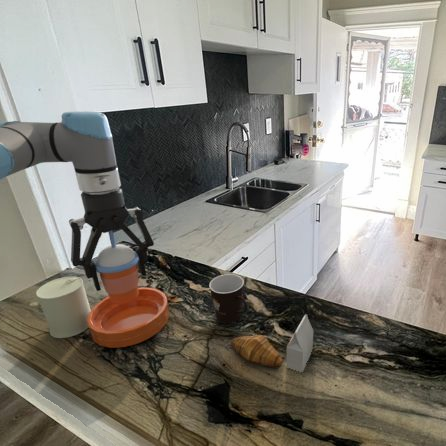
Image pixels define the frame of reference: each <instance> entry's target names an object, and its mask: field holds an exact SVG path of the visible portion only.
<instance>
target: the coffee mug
mask: <svg viewBox="0 0 446 446" xmlns="http://www.w3.org/2000/svg"><path fill="white" fill-rule="evenodd" d="M244 284H245V281H244V278H243V277H242V276H240V275H239V274H235V273H234V274H233V273H226V274H221V275H218V276H216V277H214V278H213V279H211V280H210V282H209V284H208V287H209V291H210V294H211V298H212V303H213V307H214V310H215V314H216V318H217V320H218V321H219V322H221V323H223V324H230V323H235V322H236V321H238V320H239V319H240V318H241V316H242V314H243V313H245V312H247V311H248V304H247V301H246V300H245V298H244V286H245V285H244ZM243 304H244V309H243Z"/></svg>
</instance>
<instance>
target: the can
mask: <svg viewBox="0 0 446 446" xmlns="http://www.w3.org/2000/svg"><path fill="white" fill-rule="evenodd" d="M35 296H36V297H37V300H38V302H39V305H40V307H41V310H42V312H43V315H44V319H45V320H46V323H47V324H46V325H47V326H48V330H49V334H50V337H52V338H55V339H66V338H67V339H68V338H71V337H75V336H77V335H79V334H81V333H84V332H85V331H86V330H89V327H88V323H87V318H88V314H89V312H90V311H91V310H92V309H91V305H90V303H89V299H88V296H87V292H86V289H85V284H84V280H83V279H82V278H81V277H78V276H64V277H63V276H62V277H60V278H59V277H58V278H55V279H53V280H51V281H48V282H46V283H44V284H43V285H41V286H40V287H39V288H38V289H37V290H36V292H35Z"/></svg>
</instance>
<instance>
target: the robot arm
mask: <svg viewBox="0 0 446 446" xmlns="http://www.w3.org/2000/svg"><path fill="white" fill-rule="evenodd" d="M113 138H114V137H113V134H112V131H111V127H110V124H109V120H108V117H107V116H106V115H105V113H103V112H99V111H65V112H63V113H62V114H61V121H59V122H38V121H37V122H36V121H30V122H29V121H19V120H13V121H0V180H3V179H5V178H6V177H8V176H12V175H14V174H16V173H18V172H21V171H24V170H26V169H29V168H31V167H34V166H37V165H39V164H43V163H72V165H73V169H74V173H75V177H76V181H77V186H78V189H79V191H80V192H81V193H80V197H81V201H82V205H83V206H82V207H83V209H84V214H83V217H81V218H78V219H74V218H70V219H69V220H68V223H69V226H70V229H71V245H70V246H71V247H70V248H71V249H70V252H71V253H70V262H71V264H72V266H73V267H75V268H77V267H83V269H84V270H83V271H84V274H85V277H86V278H87V280H88V279H92V282H93V285H94V288H95V290H96V292H100V291H101V290H102V289H101V283H100V281H99V276H98V271H97V270H96V268H95V265H94V261H93V258H94V255H95V252H96V249H97V246H98V244H99V241H100V239H101V237H102V235H103V234H107V233H108V232H109V231H112V230H113V231H119V230H120V229H121V231H122V232H124V233H125V234H126V235H127V237H128V238H129V239H131V241H132V242H133V243H134V244H135V245H136V246H137V248H135V252H136V253H137V254H138V256H139V261H138V263H137V264H138V265H137V266H138V272H139V273H140V274H141V276H142V277H146V276H147V271H146V265H145V263H146V262H148V261H149V256H148V250H149V249H148V248H150V247H153V246H154V245H155V242H154V240H153V238H152V236H151V234H150V232H149V230H148V228H147V225H146V223H145V221H144V219H143V211H142V209H141V208H139V207H138V206H134V207H133V208H127V207H126V204H125V197H124V193H123V189H122V188H121V186H122V182H121V178H120V173H119V168H118V164H117V158H116V152H115V147H114V140H113ZM128 216H130V217H131V218H132V219H134V221H135V223H136V225H137V228H138V229H139V231H140V233H141V235H142V237H143V240H144V241H141V240H140V239H139V237H137V235H136V234H135V233H134V232H133V231H132V230H131V229H130V228H129V227H128V226H127V225H126V223H125V222H126V220H127V218H128ZM85 224H87V225H89V226H90V227H91V229H90V235H89V237H88V240H87V242H86V245H85V248H84V250H83V251H84V252H83V254H82V257H81V245H82V243H81V242H82V230H83V229H84V226H85Z"/></svg>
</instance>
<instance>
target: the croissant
mask: <svg viewBox="0 0 446 446" xmlns="http://www.w3.org/2000/svg"><path fill="white" fill-rule="evenodd" d="M230 346H231V347H232V349H233V350H234V351H235V352H236V354H238V355H239V356H242V357H243V358H244V359H245V360H247V361H248V362H249V363H252V364H256V365H261V366H263V367H266V368H272V369H280V368H281V367H282V365H283V362H284V361H283V360H284V359H283V358H282V357H281V355H280V353H279V352H278V351H277V350H276V348H275V347H274V346H273V345H272V344H271V343H270V341H269V340H268V338H266V337H265V336H264V335H262V334H253V335H243V336H237V337H234V338H232V340H231V341H230Z"/></svg>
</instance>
